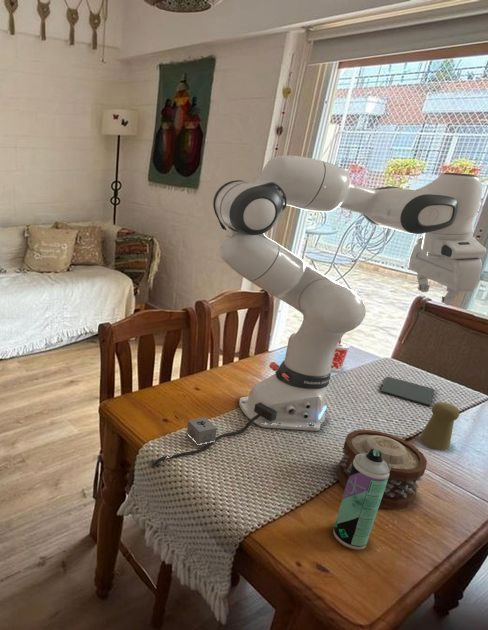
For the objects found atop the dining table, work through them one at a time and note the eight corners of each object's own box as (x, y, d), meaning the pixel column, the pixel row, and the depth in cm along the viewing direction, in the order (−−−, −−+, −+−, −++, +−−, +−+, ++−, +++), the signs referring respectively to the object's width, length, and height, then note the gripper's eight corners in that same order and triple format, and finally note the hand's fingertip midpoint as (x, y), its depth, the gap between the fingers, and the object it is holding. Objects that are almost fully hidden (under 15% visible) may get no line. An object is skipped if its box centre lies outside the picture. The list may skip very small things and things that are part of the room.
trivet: (429, 406, 126) (430, 404, 126) (380, 392, 134) (380, 390, 134) (433, 390, 135) (433, 388, 135) (386, 377, 142) (387, 376, 142)
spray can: (354, 525, 86) (380, 441, 79) (373, 549, 81) (402, 461, 74) (327, 526, 86) (350, 442, 79) (344, 550, 81) (371, 462, 74)
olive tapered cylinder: (437, 452, 108) (451, 413, 104) (413, 437, 113) (425, 400, 109) (455, 447, 109) (470, 410, 105) (431, 433, 114) (444, 397, 111)
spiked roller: (450, 468, 86) (374, 467, 86) (434, 510, 90) (361, 510, 90) (398, 423, 100) (332, 423, 100) (385, 462, 104) (322, 462, 104)
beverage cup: (318, 365, 150) (327, 327, 145) (332, 363, 152) (341, 325, 147) (333, 373, 145) (343, 334, 140) (348, 371, 146) (358, 332, 141)
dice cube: (202, 433, 114) (205, 417, 113) (214, 444, 110) (217, 428, 108) (186, 436, 113) (188, 420, 111) (197, 448, 108) (199, 431, 107)
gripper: (406, 235, 115) (397, 285, 120) (460, 253, 96) (446, 312, 101) (433, 233, 114) (423, 283, 119) (492, 251, 95) (478, 311, 100)
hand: (434, 297), depth 110 cm, fingers open, 8 cm apart
